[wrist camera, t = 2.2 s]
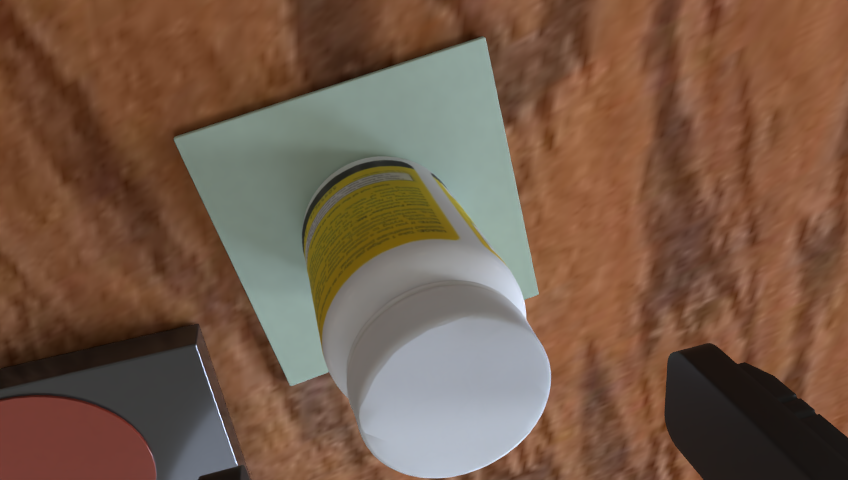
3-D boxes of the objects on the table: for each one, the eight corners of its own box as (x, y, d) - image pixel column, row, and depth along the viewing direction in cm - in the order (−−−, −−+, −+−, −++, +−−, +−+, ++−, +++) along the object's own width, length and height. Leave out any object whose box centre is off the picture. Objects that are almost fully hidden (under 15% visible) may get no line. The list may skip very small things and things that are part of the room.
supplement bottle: (273, 262, 20) (289, 463, 12) (345, 125, 18) (412, 258, 11) (408, 313, 22) (491, 514, 14) (481, 192, 20) (615, 343, 13)
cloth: (173, 136, 18) (172, 139, 17) (483, 35, 18) (485, 36, 18) (290, 382, 22) (290, 386, 22) (536, 291, 23) (538, 294, 23)
